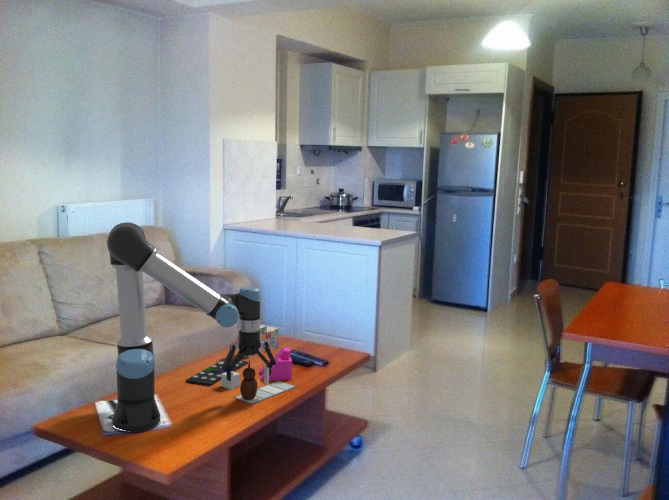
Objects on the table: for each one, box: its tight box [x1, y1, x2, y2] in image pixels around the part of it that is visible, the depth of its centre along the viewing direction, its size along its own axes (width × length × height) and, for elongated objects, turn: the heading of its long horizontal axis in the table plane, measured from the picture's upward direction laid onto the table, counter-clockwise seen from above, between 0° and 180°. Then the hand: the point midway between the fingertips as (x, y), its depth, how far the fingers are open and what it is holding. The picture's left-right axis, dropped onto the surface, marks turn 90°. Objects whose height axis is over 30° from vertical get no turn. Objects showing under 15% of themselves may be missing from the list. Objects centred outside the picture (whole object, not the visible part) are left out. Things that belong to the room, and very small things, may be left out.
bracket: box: [259, 346, 293, 382], centre depth 255 cm, size 12×10×10 cm
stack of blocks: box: [238, 324, 280, 359], centre depth 286 cm, size 21×6×12 cm, turn 147°
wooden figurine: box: [239, 360, 258, 400], centre depth 229 cm, size 7×6×15 cm
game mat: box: [232, 380, 297, 406], centre depth 237 cm, size 24×10×1 cm, turn 142°
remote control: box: [185, 357, 249, 387], centre depth 257 cm, size 11×30×2 cm, turn 160°
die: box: [220, 371, 241, 390], centre depth 242 cm, size 5×5×5 cm
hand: (249, 386), depth 229 cm, fingers open, 13 cm apart
